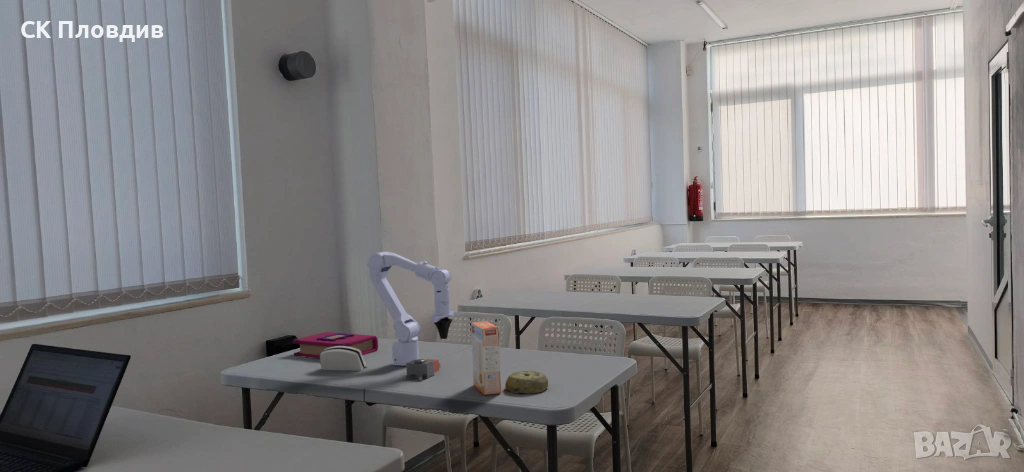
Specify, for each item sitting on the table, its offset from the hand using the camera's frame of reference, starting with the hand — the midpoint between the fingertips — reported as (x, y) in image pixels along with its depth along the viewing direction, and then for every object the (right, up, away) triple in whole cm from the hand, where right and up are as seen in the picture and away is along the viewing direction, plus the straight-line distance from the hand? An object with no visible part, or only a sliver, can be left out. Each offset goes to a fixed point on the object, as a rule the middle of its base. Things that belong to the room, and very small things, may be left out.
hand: (443, 338), depth 259 cm
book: (-48, -11, +31) cm, 58 cm away
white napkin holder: (-37, -12, 0) cm, 39 cm away
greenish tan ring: (+30, -11, -37) cm, 49 cm away
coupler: (-5, -11, -12) cm, 17 cm away
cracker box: (+17, -11, -36) cm, 42 cm away
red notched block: (-4, -11, -10) cm, 15 cm away
